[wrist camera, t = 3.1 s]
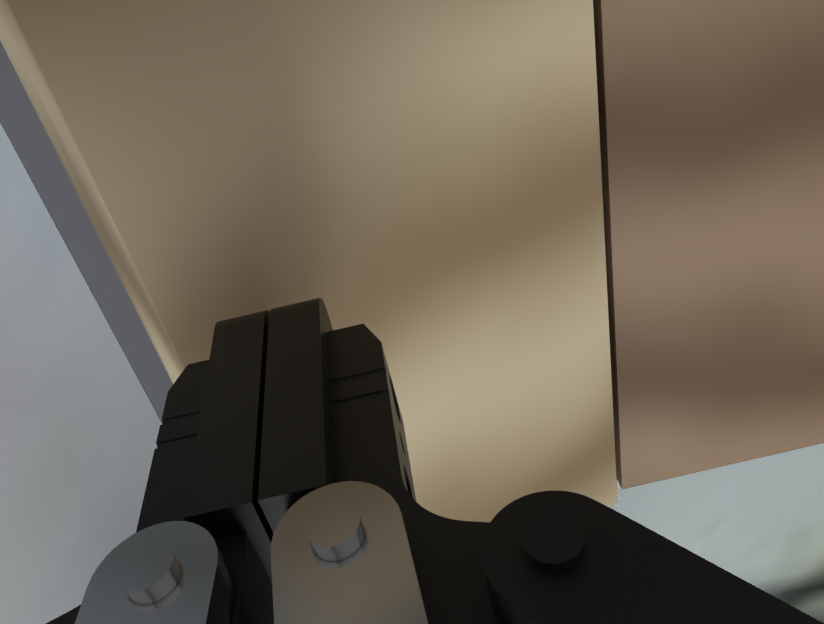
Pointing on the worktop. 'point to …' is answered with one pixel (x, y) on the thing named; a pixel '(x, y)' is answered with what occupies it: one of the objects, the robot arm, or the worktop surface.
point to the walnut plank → (712, 229)
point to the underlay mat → (79, 233)
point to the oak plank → (359, 202)
